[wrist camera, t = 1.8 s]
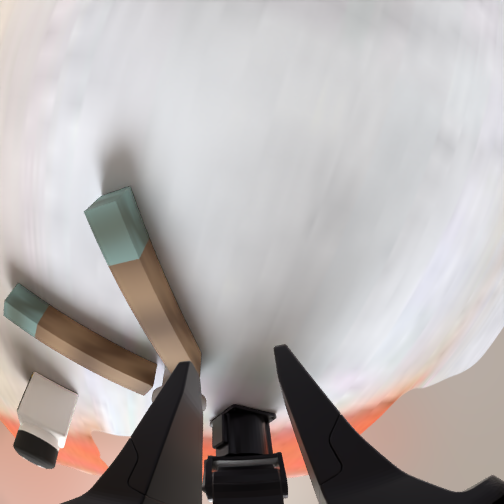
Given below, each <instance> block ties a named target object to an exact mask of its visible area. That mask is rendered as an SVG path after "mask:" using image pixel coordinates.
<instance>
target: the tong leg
mask: <svg viewBox="0 0 504 504" xmlns="http://www.w3.org/2000/svg"><path fill="white" fill-rule="evenodd" d="M84 213H85V215H86V218H87V220H88V222H89V225H90V227H91V229H92V232H93V234H94V236H95V238H96V241H97V243H98V245H99V247H100V249H101V252H102V254H103V256H104V258H105V260H106V262H107V264H108V266H109V268H110V270H111V272H112V274H113V276H114V278H115V280H116V282H117V284H118V286H119V288H120V290H121V291H122V293H123V295H124V297H125V299H126V301H127V303H128V304H129V306H130V308H131V310H132V312H133V313H134V315H135V317H136V319H137V320H138V322H139V324H140V325H141V327H142V329H143V330H144V332H145V334H146V335H147V337H148V339H149V340H150V342H151V344H152V345H153V347H154V348H155V350H156V352H157V353H158V355H159V356H160V358H161V359H162V361H163V362H164V364H165V365H166V367H167V368H168V370H169V371H170V373H172V372H173V370H174V369H175V367H176V366H177V364H178V363H179V362H182V361H191V362H192V364H193V365H194V367H195V369H196V370H197V372H198V374H199V377H200V367H201V351H200V349H199V347H198V345H197V343H196V341H195V339H194V337H193V335H192V333H191V331H190V329H189V327H188V325H187V323H186V321H185V319H184V317H183V315H182V313H181V310H180V308H179V306H178V304H177V302H176V300H175V297H174V295H173V293H172V291H171V288H170V286H169V284H168V282H167V279H166V277H165V275H164V272H163V270H162V268H161V265H160V263H159V261H158V258H157V256H156V253H155V251H154V248H153V246H152V244H151V241H150V239H149V236H148V233H147V231H146V228H145V226H144V223H143V220H142V218H141V215H140V212H139V210H138V207H137V204H136V202H135V199H134V196H133V193H132V190H131V187H126V188H123V189H120V190H117V191H114V192H112V193H109V194H106V195H103V196H101V197H99V198H98V199H97V200H96V201H95V202H94V203H93V204H92V205H91V206H90V207H89V208H88V209H86V210H85V211H84Z"/></svg>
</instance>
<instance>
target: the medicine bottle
mask: <svg viewBox="0 0 504 504" xmlns="http://www.w3.org/2000/svg"><path fill="white" fill-rule="evenodd" d="M77 399H78V394H76V393H74V392H72V391H70V390H68V389H66V388H64V387H62V386H60V385H58V384H57V383H55V382H53V381H51V380H49V379H47V378H46V377H44V376H42V375H40V374H38V373H37V372H33V374H32V376H31V378H30V380H29V383H28V385H27V387H26V390H25V392H24V394H23V397H22V399H21V401H20V404H19V406H18V409H17V413H18V418H19V422H20V427H19V430H18V433H17V436H16V439H15V442H14V445H13V446H14V449H15V450H16V451H17V453H18V454H19V455H20V456H22V457H23V458H25V459H26V460H28V461H30V462H32V463H33V464H36V465H38V466H40V467H42V468H46V469H52V468H54V467H55V463H56V459H57V455H58V451H59V447H60V448H64V445H65V441H66V438H67V434H68V430H69V427H70V423H71V420H72V417H73V413H74V410H75V406H76V403H77Z"/></svg>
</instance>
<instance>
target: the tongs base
mask: <svg viewBox="0 0 504 504" xmlns="http://www.w3.org/2000/svg"><path fill="white" fill-rule="evenodd" d="M4 316H5V317H6V318H8V319H9V320H10V321H12V322H13V323H14V324H16V325H17V326H19V327H20V328H21V329H23V330H24V331H26V332H27V333H29V334H30V335H32V336H33V337H35V338H36V339H38V340H39V341H41V342H42V343H44V344H45V345H47V346H49V347H50V348H52V349H53V350H55V351H57V352H58V353H60V354H62V355H63V356H65V357H67V358H69V359H70V360H72V361H74V362H76V363H77V364H79V365H81V366H83V367H85V368H87V369H89V370H90V371H92V372H94V373H96V374H98V375H100V376H102V377H104V378H106V379H108V380H110V381H112V382H114V383H117V384H119V385H121V386H123V387H125V388H127V389H130V390H132V391H134V392H136V393H139V394H141V395H143V396H144V395H145V394H146V393H147V392H148V391H149V390H150V389H151V388H152V387H153V384H154V379H155V373H156V368H157V364H155V363H153V362H151V361H149V360H146V359H144V358H142V357H140V356H138V355H136V354H134V353H132V352H130V351H128V350H126V349H124V348H122V347H120V346H118V345H117V344H115V343H113V342H111V341H109V340H107V339H105V338H103V337H102V336H100V335H98V334H96V333H95V332H93V331H91V330H89V329H88V328H86V327H84V326H82V325H81V324H79V323H77V322H76V321H74V320H72V319H71V318H69V317H68V316H66V315H64V314H63V313H61V312H60V311H58V310H57V309H55V308H53V307H52V306H50V305H49V304H47V303H46V302H44V301H43V300H41V299H40V298H39V297H37V296H36V295H34V294H33V293H31V292H30V291H29V290H27V289H26V288H24V287H23V286H22V285H20V284H19V283H18V284H17V285H16V287H15V288H14V289H13V290H12V292H11V293H10V294H9V296H8V297H7V298H6V300H5V302H4ZM170 375H171V373H170V371H169V370H168V368H167V367H165V371H164V377H163V383H162V386H161V387H158V388H156V389H155V390H154V391H153V394H152V402H153V401H154V400H155V398H156V397H157V395H158V394H159V392H160V390H161V389H162V387H163V386H164V384H165V383H166V381H167V380H168V378H169V377H170ZM201 397H202V409H203V411H204V410H205V409H206V398H205V397H204V396H203V395H202V394H201Z"/></svg>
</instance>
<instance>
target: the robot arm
mask: <svg viewBox="0 0 504 504" xmlns="http://www.w3.org/2000/svg"><path fill="white" fill-rule="evenodd" d="M274 354H275V361H276V368H277V374H278V378H279V382H280V386H281V390H282V394H283V398H284V402H285V405H286V409H287V412H288V415H289V418H290V421H291V424H292V427H293V430H294V433H295V436H296V439H297V442H298V444H299V447H300V450H301V453H302V456H303V459H304V462H305V465H306V468H307V470H308V473H309V476H310V479H311V482H312V485H313V488H314V490H315V493H316V496H317V499H318V502H319V504H504V481H502V480H501V479H499V478H497V477H496V476H494V475H491V476H490V477H488V478H486V479H484V480H483V481H481V482H479V483H477V484H476V485H474V486H472V487H471V488H468V489H467V490H465V491H463V492H454V491H449V490H447V489H444V488H441V487H438V486H436V485H433V484H430V483H428V482H425V481H423V480H420V479H417V478H415V477H413V476H410V475H408V474H407V473H405V472H403V471H401V470H400V469H399V468H397V467H396V466H395V465H393V464H392V463H391V462H390V461H388V460H387V459H386V458H385V457H384V456H383V455H381V454H380V453H379V452H378V451H377V450H376V449H375V448H373V447H372V446H371V445H370V444H369V443H368V442H366V441H365V440H364V439H363V438H362V437H361V436H360V435H359V434H358V433H357V432H356V431H355V429H354V428H353V427H352V426H351V425H350V424H349V423H348V422H347V420H346V419H345V418H344V417H343V415H340V412H339V411H338V409H337V408H336V407H335V406H334V405H333V403H332V402H331V401H330V400H329V398H328V397H327V396H326V395H325V393H324V392H323V391H322V390H321V388H320V387H319V386H318V385H317V383H316V382H315V381H314V380H313V378H312V377H311V376H310V375H309V373H308V372H307V371H306V370H305V368H304V367H303V366H302V364H301V363H300V362H299V361H298V359H297V358H296V357H295V355H294V354H293V353H292V352H291V350H290V349H289V348H288V346H287V345H285V344H284V345H279V346H275V347H274ZM274 419H276V414H272V413H268V412H263V411H259V410H255V409H250V408H246V407H242V406H239V405H232V406H231V407H229V408H228V409H227V410H226V411H224V412H223V413H222V414H221V415H219V416H218V417H217V418H215V419H214V420H213V421H212V422H210V426H211V427H212V447H213V448H214V449H216V456H208V459H207V460H204V476H203V482H202V446H203V409H202V397H201V385H200V377H199V374H198V372H197V370H196V369H195V367H194V365H193V364H192V362H191V361H182V362H179V363H178V364H177V366H176V367H175V369H174V370H173V372H172V373H171V375H170V377H169V378H168V380H167V381H166V383H165V384H164V386H163V387H162V389H161V390H160V392H159V394H158V395H157V397H156V398H155V400H154V401H153V403H152V404H151V406H150V407H149V409H148V411H147V412H146V414H145V415H144V417H143V418H142V420H141V421H140V423H139V425H138V426H137V428H136V429H135V431H134V432H133V434H132V435H131V438H130V439H129V440H128V441H127V443H126V445H125V446H124V448H123V449H122V450H121V452H120V453H119V455H118V456H117V457H116V459H115V460H114V462H113V463H112V464H111V465H110V466H109V468H108V469H107V470H106V471H105V472H104V474H103V475H102V476H101V477H100V478H99V480H98V481H97V482H96V483H95V485H94V486H93V487H92V488H91V489H90V490H89V491H88V492H86V493H85V494H83V495H82V496H80V497H78V498H75V499H72V500H69V501H67V502H64V503H61V504H202V491H203V492H205V493H206V496H207V498H208V501H209V502H213V504H284V502H283V498H288V484H287V478H286V473H285V468H284V463H283V458H282V453H281V452H277V453H274V454H273V450H272V442H271V434H270V426H269V423H270V422H271V421H273V420H274Z"/></svg>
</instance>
